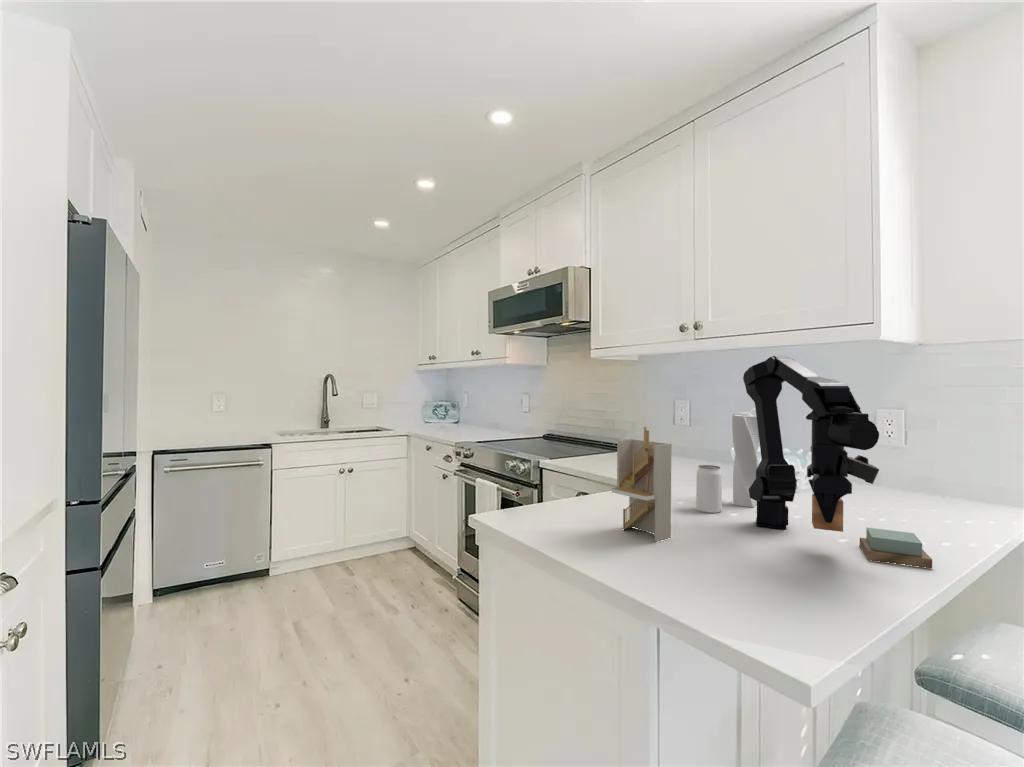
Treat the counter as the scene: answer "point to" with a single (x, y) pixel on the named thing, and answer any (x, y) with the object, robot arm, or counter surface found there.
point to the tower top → (894, 541)
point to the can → (709, 489)
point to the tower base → (895, 556)
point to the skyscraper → (744, 457)
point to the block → (819, 519)
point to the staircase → (645, 484)
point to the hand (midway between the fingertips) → (827, 519)
